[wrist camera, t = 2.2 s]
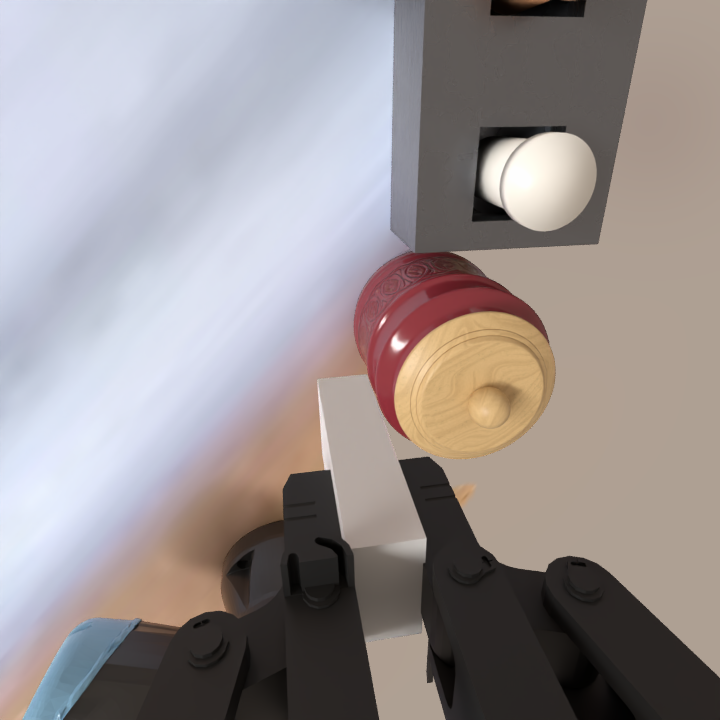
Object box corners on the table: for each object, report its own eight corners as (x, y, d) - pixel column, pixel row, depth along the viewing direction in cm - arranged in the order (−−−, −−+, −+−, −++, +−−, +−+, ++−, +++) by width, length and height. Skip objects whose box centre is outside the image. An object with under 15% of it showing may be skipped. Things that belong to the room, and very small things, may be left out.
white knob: (521, 205, 40) (586, 229, 32) (453, 208, 39) (502, 233, 31) (531, 127, 37) (605, 131, 29) (459, 128, 37) (514, 133, 28)
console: (545, 223, 45) (598, 244, 37) (390, 229, 43) (414, 253, 35) (594, -102, 35) (678, -156, 28) (396, -112, 33) (432, -174, 26)
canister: (484, 232, 44) (603, 298, 28) (490, 362, 50) (591, 475, 34) (339, 262, 43) (379, 347, 28) (362, 390, 49) (407, 520, 33)
